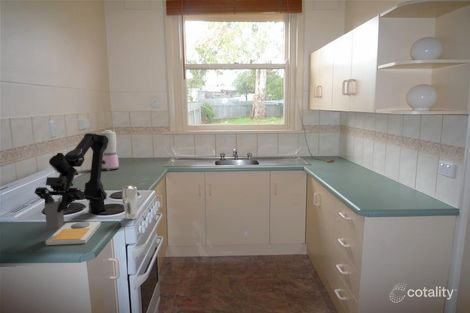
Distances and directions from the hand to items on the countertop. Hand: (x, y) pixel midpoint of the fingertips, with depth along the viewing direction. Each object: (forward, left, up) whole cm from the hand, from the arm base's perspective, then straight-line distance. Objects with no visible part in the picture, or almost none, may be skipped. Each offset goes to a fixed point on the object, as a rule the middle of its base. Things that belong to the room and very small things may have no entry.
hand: (52, 212), depth 134 cm
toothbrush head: (-23, -49, -12) cm, 56 cm away
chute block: (-1, -1, -7) cm, 7 cm away
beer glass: (-34, +1, -12) cm, 36 cm away
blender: (-83, -114, -12) cm, 141 cm away
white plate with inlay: (-8, +1, -11) cm, 14 cm away
